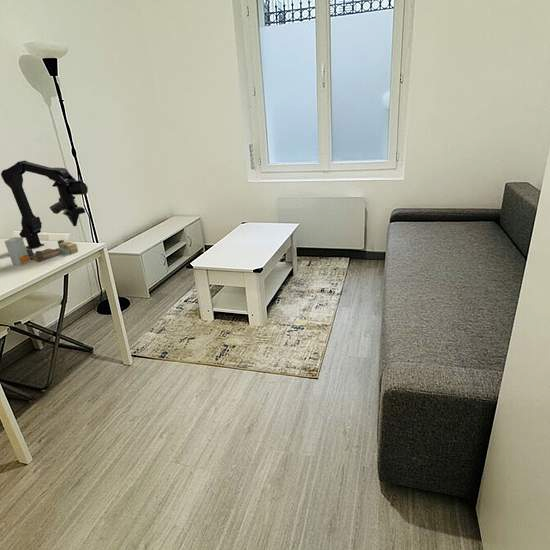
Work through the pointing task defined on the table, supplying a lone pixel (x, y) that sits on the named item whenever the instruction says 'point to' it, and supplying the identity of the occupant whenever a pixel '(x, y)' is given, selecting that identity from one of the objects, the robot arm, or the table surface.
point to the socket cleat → (64, 251)
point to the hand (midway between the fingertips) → (75, 226)
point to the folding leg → (68, 246)
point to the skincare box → (17, 251)
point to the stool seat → (43, 254)
